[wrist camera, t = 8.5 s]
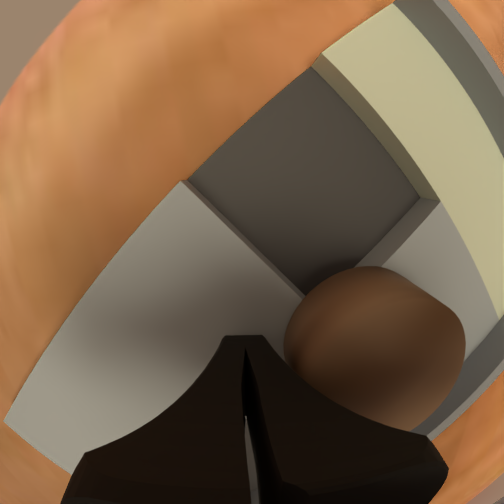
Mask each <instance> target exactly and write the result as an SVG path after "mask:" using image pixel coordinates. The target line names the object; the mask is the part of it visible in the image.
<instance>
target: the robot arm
mask: <svg viewBox="0 0 504 504" xmlns="http://www.w3.org/2000/svg"><path fill="white" fill-rule="evenodd" d="M246 418H247V424H248V429H249V435H250V440H251V445H252V450H253V455H254V461H255V467H256V474H257V486H258V498H259V504H428V503H429V502H430V501H431V500H432V499H433V497H434V496H435V495H436V494H437V492H438V491H439V490H440V488H441V487H442V485H443V484H444V482H445V480H446V478H447V475H448V470H449V468H448V466H447V465H446V463H445V461H444V460H443V458H442V456H441V455H440V453H439V452H438V450H437V449H436V447H435V446H434V445H433V443H432V442H431V441H430V439H429V438H428V437H427V436H426V435H421V434H417V433H413V432H409V431H405V430H401V429H397V428H393V427H390V426H387V425H384V424H381V423H379V422H376V421H373V420H371V419H368V418H366V417H364V416H361V415H359V414H357V413H355V412H353V411H351V410H349V409H347V408H345V407H343V406H341V405H339V404H337V403H336V402H334V401H332V400H331V399H329V398H328V397H326V396H325V395H323V394H322V393H320V392H319V391H317V390H316V389H314V388H313V387H312V386H310V385H309V384H308V383H307V382H306V381H304V380H303V379H302V378H301V377H300V376H299V375H298V374H297V373H296V372H295V371H294V370H292V369H291V367H290V366H289V365H288V364H287V363H286V362H285V361H284V360H283V359H282V358H281V357H280V356H279V355H278V353H277V352H276V351H275V350H274V349H273V347H272V346H271V345H270V343H269V342H268V341H267V339H266V338H265V337H264V336H263V335H225V336H224V337H223V338H222V340H221V342H220V345H219V347H218V349H217V350H216V352H215V354H214V355H213V357H212V359H211V360H210V361H209V363H208V364H207V366H206V367H205V369H204V370H203V371H202V373H201V374H200V375H199V376H198V378H197V379H196V380H195V381H194V383H193V384H192V385H191V386H190V387H189V388H188V389H187V390H186V391H185V392H184V393H183V394H182V395H181V396H180V397H179V398H178V399H177V400H176V401H175V402H174V403H173V404H172V405H170V406H169V407H168V408H167V409H165V410H164V411H163V412H162V413H161V414H159V415H158V416H157V417H155V418H154V419H152V420H151V421H150V422H148V423H146V424H145V425H143V426H142V427H140V428H138V429H136V430H135V431H133V432H131V433H129V434H127V435H125V436H123V437H121V438H119V439H117V440H115V441H113V442H110V443H108V444H106V445H103V446H101V447H98V448H96V449H93V450H91V451H88V452H85V453H84V454H83V456H82V458H81V460H80V461H79V463H78V464H77V466H76V468H75V470H74V472H73V474H72V476H71V478H70V481H69V483H68V486H67V488H66V491H65V493H64V496H63V498H62V501H61V504H251V492H250V482H249V474H248V464H247V455H246V444H245V421H246ZM493 504H504V497H502V498H501V499H500V500H498V501H497V502H495V503H493Z"/></svg>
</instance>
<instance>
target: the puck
mask: <svg viewBox="0 0 504 504" xmlns="http://www.w3.org/2000/svg"><path fill="white" fill-rule="evenodd" d="M283 347H284V358H285V362H286V363H287V364H288V365H289V366H290V367H291V369H292V370H294V371H295V372H296V373H297V374H298V375H299V376H300V377H301V378H302V379H303V380H304V381H306V382H307V383H308V384H309V385H310V386H312V387H313V388H314V389H316V390H317V391H319V392H320V393H322V394H323V395H325V396H326V397H328V398H329V399H331V400H332V401H334V402H336V403H337V404H339V405H341V406H343V407H345V408H347V409H349V410H351V411H353V412H355V413H357V414H359V415H361V416H364V417H366V418H368V419H371V420H373V421H376V422H379V423H381V424H384V425H387V426H390V427H393V428H397V429H401V430H405V431H411V430H412V429H414V428H415V427H417V426H418V425H419V424H421V423H422V422H423V421H424V420H426V419H427V418H428V417H429V416H430V415H431V414H432V413H433V412H434V411H435V410H436V409H437V408H438V407H439V406H440V405H441V403H442V402H443V401H444V400H445V398H446V397H447V396H448V394H449V393H450V391H451V389H452V388H453V386H454V384H455V382H456V380H457V378H458V376H459V374H460V371H461V368H462V365H463V362H464V357H465V349H466V339H465V332H464V328H463V326H462V323H461V321H460V319H459V318H458V316H457V315H456V314H455V313H454V312H453V311H452V310H451V309H450V308H449V307H447V306H446V305H444V304H443V303H442V302H440V301H439V300H437V299H436V298H434V297H433V296H431V295H430V294H428V293H427V292H426V291H424V290H423V289H421V288H420V287H418V286H417V285H415V284H414V283H412V282H411V281H409V280H408V279H406V278H405V277H403V276H401V275H400V274H398V273H396V272H395V271H392V270H390V269H387V268H383V267H378V266H362V267H355V268H351V269H347V270H345V271H342V272H339V273H337V274H335V275H333V276H331V277H329V278H327V279H326V280H324V281H323V282H321V283H320V284H318V285H317V286H316V287H315V288H314V289H313V290H311V291H310V292H309V293H308V294H307V295H306V296H305V298H304V299H303V300H302V301H301V303H300V304H299V305H298V307H297V308H296V310H295V311H294V313H293V315H292V316H291V319H290V321H289V323H288V326H287V329H286V332H285V337H284V344H283Z"/></svg>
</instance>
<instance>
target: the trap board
mask: <svg viewBox="0 0 504 504" xmlns="http://www.w3.org/2000/svg"><path fill="white" fill-rule="evenodd" d="M362 266H378V267H383V268H387V269H390V270H392V271H395V272H396V273H398V274H400V275H401V276H403V277H405V278H406V279H408V280H409V281H411V282H412V283H414V284H415V285H417V286H418V287H420V288H421V289H423V290H424V291H426V292H427V293H428V294H430V295H431V296H433V297H434V298H436V299H437V300H439V301H440V302H442V303H443V304H444V305H446V306H447V307H449V308H450V309H451V310H452V311H453V312H454V313H455V314H456V315H457V316H458V318H459V319H460V321H461V323H462V326H463V328H464V332H465V339H466V349H465V357H464V362H463V365H462V368H461V371H460V374H459V376H458V378H457V380H456V382H455V384H454V386H453V388H452V389H451V391H450V393H449V394H448V396H447V397H446V398H445V400H444V401H443V402H442V403H441V405H440V406H439V407H438V408H437V409H436V410H435V411H434V412H433V413H432V414H431V415H430V416H429V417H428V418H427V419H426V420H424V421H423V422H422V423H421V424H419V425H418V426H417V427H415V428H414V429H412V430H411V431H409V432H413V433H417V434H421V435H426V436H427V437H428V438H429V439H430V441H432V440H433V439H434V438H436V437H437V436H438V435H439V434H440V433H442V432H443V431H444V430H445V429H446V428H447V427H448V426H450V425H451V424H452V423H453V422H454V421H455V420H456V419H457V418H458V417H459V416H461V415H462V414H463V413H464V412H465V411H466V410H467V409H468V408H469V407H470V406H471V405H472V404H473V403H474V402H475V401H476V400H477V399H478V398H479V397H480V396H481V395H482V394H483V393H484V392H485V390H486V389H487V388H488V387H489V386H490V385H491V384H492V383H493V382H494V381H495V379H496V378H497V377H498V376H499V375H500V374H501V373H502V371H503V370H504V76H503V74H502V73H501V71H500V69H499V68H498V66H497V65H496V63H495V61H494V60H493V58H492V57H491V55H490V54H489V52H488V51H487V50H486V48H485V47H484V45H483V44H482V42H481V41H480V40H479V38H478V37H477V36H476V34H475V33H474V32H473V30H472V29H471V28H470V26H469V25H468V24H467V23H466V21H465V20H464V19H463V18H462V16H461V15H460V14H459V13H458V12H457V10H456V9H455V8H454V7H453V6H452V5H451V3H450V2H449V1H448V0H395V1H394V2H393V3H392V4H390V5H389V6H387V7H385V8H384V9H382V10H381V11H379V12H378V13H376V14H375V15H373V16H372V17H370V18H369V19H367V20H366V21H364V22H363V23H362V24H360V25H359V26H357V27H356V28H354V29H353V30H352V31H350V32H349V33H347V34H346V35H345V36H343V37H342V38H340V39H339V40H338V41H336V42H335V43H334V44H332V45H331V46H330V47H328V48H327V49H326V50H324V51H323V52H322V53H321V54H320V55H319V57H318V58H317V59H316V60H315V62H314V63H313V64H312V66H311V67H310V68H308V69H307V70H306V71H305V72H303V73H302V74H301V75H300V76H298V77H297V78H296V79H295V80H294V81H292V82H291V83H290V84H289V85H288V86H287V87H285V88H284V89H283V90H282V91H281V92H279V93H278V94H277V95H276V96H275V97H274V98H273V99H271V100H270V101H269V102H268V103H267V104H266V105H265V106H263V107H262V108H261V109H260V110H259V111H258V112H257V113H256V114H255V115H253V116H252V117H251V118H250V119H249V120H248V121H247V122H246V123H245V124H244V125H243V126H241V127H240V128H239V129H238V130H237V131H236V132H235V133H234V134H233V135H232V136H231V137H230V138H229V139H228V140H227V141H226V142H225V143H224V144H223V145H222V146H220V147H219V148H218V149H217V150H216V151H215V152H214V153H213V154H212V155H211V156H210V157H209V158H208V159H207V160H206V161H205V162H204V163H203V164H202V165H201V166H200V167H199V168H198V169H197V170H196V171H195V172H194V173H193V175H192V176H191V177H190V178H189V179H188V180H182V181H180V182H179V183H178V184H177V185H176V186H175V187H174V188H173V189H172V190H171V191H170V192H169V193H168V194H167V196H166V197H165V198H164V199H163V200H162V201H161V202H160V203H159V204H158V205H157V207H156V208H155V209H154V210H153V211H152V212H151V213H150V214H149V216H148V217H147V218H146V219H145V220H144V221H143V222H142V224H141V225H140V226H139V227H138V228H137V229H136V230H135V232H134V233H133V234H132V235H131V236H130V238H129V239H128V240H127V241H126V242H125V244H124V245H123V246H122V247H121V248H120V250H119V251H118V252H117V253H116V254H115V256H114V257H113V258H112V259H111V261H110V262H109V263H108V264H107V266H106V267H105V268H104V269H103V271H102V272H101V273H100V275H99V276H98V277H97V278H96V280H95V281H94V282H93V284H92V285H91V286H90V288H89V289H88V290H87V292H86V293H85V294H84V296H83V297H82V298H81V300H80V301H79V302H78V304H77V305H76V306H75V308H74V309H73V311H72V312H71V313H70V315H69V316H68V318H67V319H66V320H65V322H64V323H63V325H62V326H61V328H60V329H59V331H58V332H57V333H56V335H55V336H54V338H53V339H52V341H51V342H50V344H49V345H48V347H47V348H46V350H45V351H44V353H43V355H42V356H41V358H40V359H39V361H38V362H37V364H36V366H35V367H34V369H33V370H32V372H31V374H30V375H29V377H28V379H27V380H26V382H25V384H24V385H23V387H22V389H21V390H20V392H19V394H18V396H17V397H16V399H15V401H14V403H13V404H12V406H11V408H10V410H9V412H8V414H7V415H6V417H5V419H4V422H5V423H6V424H7V425H8V426H9V427H10V428H11V429H13V430H14V431H15V432H16V433H17V434H18V435H19V436H21V437H22V438H23V439H24V440H25V441H27V442H28V443H29V444H30V445H31V446H33V447H34V448H35V449H37V450H38V451H39V452H40V453H42V454H43V455H44V456H46V457H47V458H48V459H50V460H51V461H52V462H54V463H55V464H57V465H58V466H59V467H61V468H62V469H64V470H65V471H67V472H68V473H70V474H71V475H72V474H73V472H74V470H75V468H76V466H77V464H78V463H79V461H80V460H81V458H82V456H83V454H84V453H85V452H88V451H91V450H93V449H96V448H98V447H101V446H103V445H106V444H108V443H110V442H113V441H115V440H117V439H119V438H121V437H123V436H125V435H127V434H129V433H131V432H133V431H135V430H136V429H138V428H140V427H142V426H143V425H145V424H146V423H148V422H150V421H151V420H152V419H154V418H155V417H157V416H158V415H159V414H161V413H162V412H163V411H164V410H165V409H167V408H168V407H169V406H170V405H172V404H173V403H174V402H175V401H176V400H177V399H178V398H179V397H180V396H181V395H182V394H183V393H184V392H185V391H186V390H187V389H188V388H189V387H190V386H191V385H192V384H193V383H194V381H195V380H196V379H197V378H198V376H199V375H200V374H201V373H202V371H203V370H204V369H205V367H206V366H207V364H208V363H209V361H210V360H211V359H212V357H213V355H214V354H215V352H216V350H217V349H218V347H219V345H220V342H221V340H222V338H223V337H224V336H225V335H263V336H264V337H265V338H266V339H267V341H268V342H269V343H270V345H271V346H272V347H273V349H274V350H275V351H276V352H277V353H278V355H279V356H280V357H281V358H282V359H283V360H284V361H285V358H284V347H283V344H284V337H285V332H286V329H287V326H288V323H289V321H290V319H291V316H292V315H293V313H294V311H295V310H296V308H297V307H298V305H299V304H300V303H301V301H302V300H303V299H304V298H305V296H306V295H307V294H308V293H309V292H310V291H311V290H313V289H314V288H315V287H316V286H317V285H318V284H320V283H321V282H323V281H324V280H326V279H327V278H329V277H331V276H333V275H335V274H337V273H339V272H342V271H345V270H347V269H351V268H355V267H362ZM245 444H246V455H247V464H248V474H249V482H250V492H251V504H259V498H258V486H257V474H256V467H255V461H254V455H253V450H252V445H251V440H250V435H249V429H248V424H247V418H246V421H245Z"/></svg>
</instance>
